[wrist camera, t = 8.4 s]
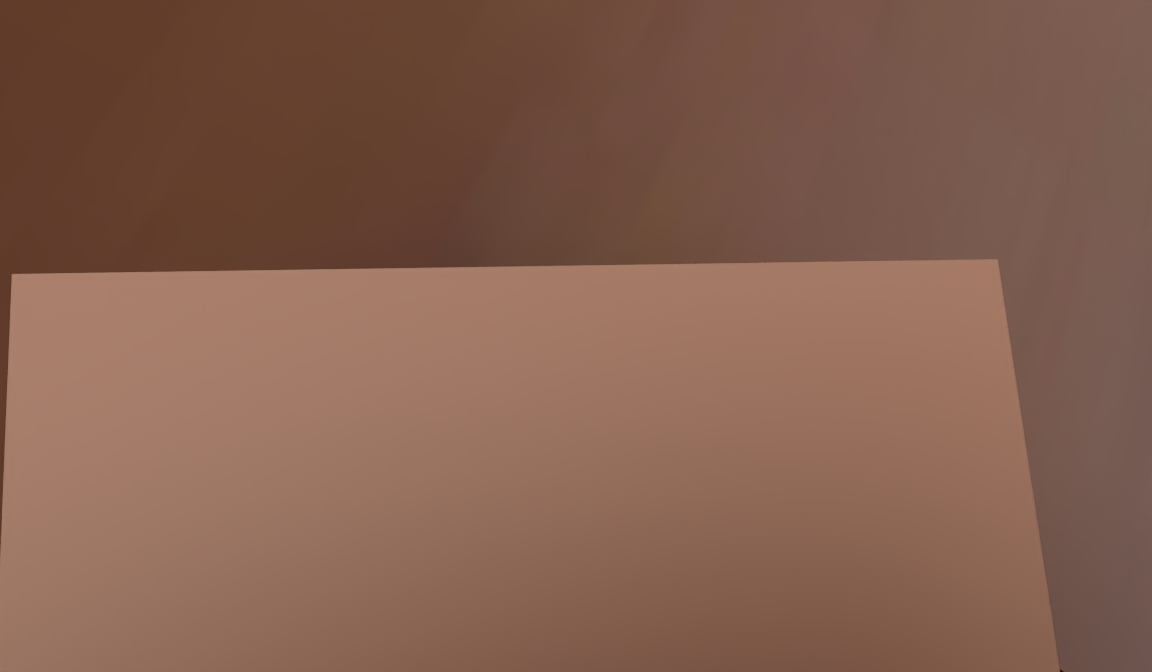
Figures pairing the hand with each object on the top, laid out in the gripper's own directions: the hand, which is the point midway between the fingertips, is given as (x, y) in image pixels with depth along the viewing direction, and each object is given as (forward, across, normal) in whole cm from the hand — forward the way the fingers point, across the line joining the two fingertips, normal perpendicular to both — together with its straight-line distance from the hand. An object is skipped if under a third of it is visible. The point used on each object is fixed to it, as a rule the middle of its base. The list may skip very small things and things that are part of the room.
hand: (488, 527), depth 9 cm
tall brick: (+4, 0, +6) cm, 7 cm away
